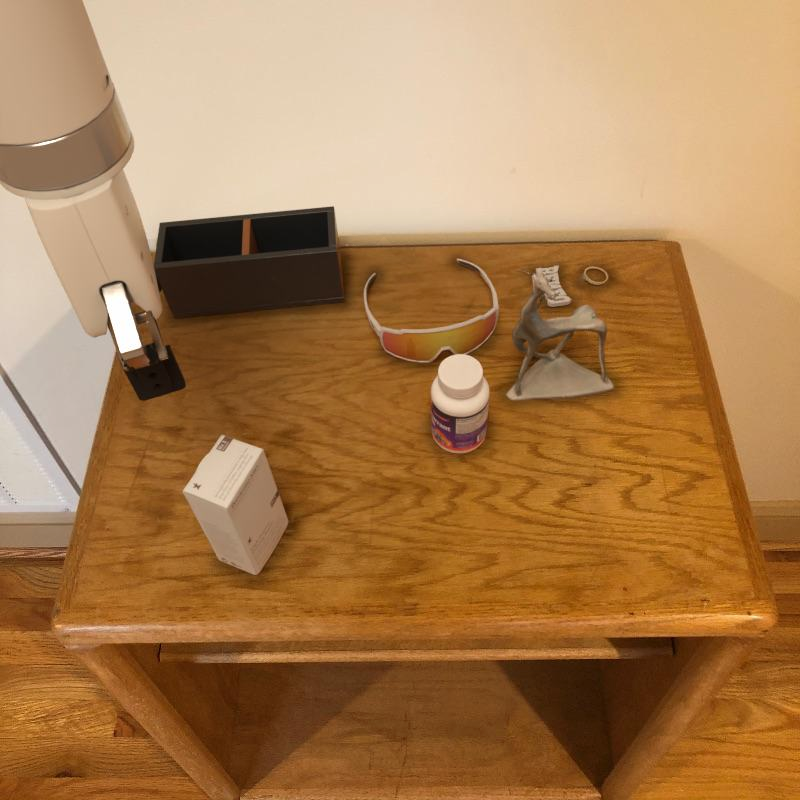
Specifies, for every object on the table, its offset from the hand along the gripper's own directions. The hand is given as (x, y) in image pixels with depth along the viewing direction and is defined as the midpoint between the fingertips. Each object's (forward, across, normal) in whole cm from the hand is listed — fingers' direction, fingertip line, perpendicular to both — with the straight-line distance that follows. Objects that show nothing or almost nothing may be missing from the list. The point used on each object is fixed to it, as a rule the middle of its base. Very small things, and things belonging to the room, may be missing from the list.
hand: (151, 341), depth 56 cm
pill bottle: (+23, +2, +23) cm, 33 cm away
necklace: (+23, -13, +40) cm, 47 cm away
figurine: (+23, -2, +36) cm, 42 cm away
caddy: (+22, -26, +10) cm, 35 cm away
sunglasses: (+23, -14, +26) cm, 38 cm away
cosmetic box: (+23, +6, +2) cm, 23 cm away
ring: (+23, -12, +46) cm, 52 cm away
